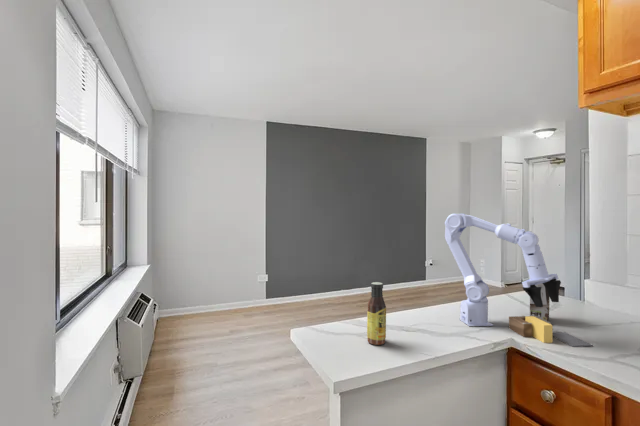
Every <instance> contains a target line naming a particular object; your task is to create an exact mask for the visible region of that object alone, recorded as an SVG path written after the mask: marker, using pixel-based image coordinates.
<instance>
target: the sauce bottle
mask: <svg viewBox="0 0 640 426" xmlns="http://www.w3.org/2000/svg"><path fill="white" fill-rule="evenodd" d="M370 288H371V291H370V292H371V294H370V295H371V296H370V298H369V299H368V301H367V313H366V314H367V316H366V318H367V319H366V333H367V334H366V337H367V338H366V339H367V342H368V343H369V344H370V345H374V346H381V345H384V344H385V342H386V338H387V306H386V303H385V299H384V297H383V296H384V295H383V293H384V292H383V288H384V284H383V282H379V281H375V282H374V281H373V282H371V283H370Z"/></svg>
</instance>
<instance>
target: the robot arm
mask: <svg viewBox="0 0 640 426" xmlns="http://www.w3.org/2000/svg"><path fill="white" fill-rule="evenodd" d="M444 226H445V228H444V229H445V230H444V239H445V242H446V243H447V246H448V249H449V250H450V252H451V254H452V256H453V258H454V261H455V262H456V265H457V267H458V269H459V271H460V272H461V275H462V277H463V285H464V287H465V295H466V299H463V300H461V301H460V306H459V308H460V315H459V316H460V317H459V320H460V321H461V322H462V323H464V324H465V325H467V326H469V327H489V326H490V327H493V326H494V324H493V323H491V322H489V299H488V297H487V296H488V295H489V294H490V286H489V285H488V284H487V283H486V282H485V281H483V279H482V277H481V276H480V275H479V274H478V273H477V271H476V269H475V266H474V265H473V263H472V261H471V258H470V257H469V254H468V253H467V251H466V248H465V246H464V244H463V242H462V240H461V239H460V238H461V235H462V233H463V231H464V230H465V229H466V228H467V227H476V228H479V229H481V230H485V231H488V232H491V233H494V234H495V235H496V237H497V238H498V239H501V240H503V241H506V242H508V243H511V244H515V245H516V244H517V245H518V247H520V248H521V251H522V257H523V259H524V262H525V267H526V269H527V270H526V271H527V273H528V277H529V279H526V280H525V281H522V282H521V284H522V289H523V292H525V293H526V294H527V295H528V296H529V299H530V298H531V299H532V301H533V302H534V304H535V306H536V307H543V303H542V299H541V287H536V286H535V285H537V284H541V283H543V285H544V286H545V288H546V289H547V291H548V294H549V297H550V301H551V302H552V303H559V302H560V299H559V297H560V296H559V295H560V286H561V284H562V282H561V280H560V279H559V275H558V274H557V273H550V274H549V272H548V269H547V265H546V261H545V258H544V256H543V252H542V251H541V246H540V245H539V241H540V240H539V239H540V238H539V236H538V235H537V234H536V233H534V232H532V231H528V230H527V231H526V229H525V228H518V227H515V226H512V224H511V223H508V222H507V223H502V224H499V225H498V224H496V223H494V222H490V221H488V220H486V219H482V218H480V217H478V216H475V215H470V214H466V213H451V214H449V215H448V216H447V218H446V219H445V221H444Z"/></svg>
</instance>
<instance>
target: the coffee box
mask: <svg viewBox="0 0 640 426" xmlns="http://www.w3.org/2000/svg"><path fill="white" fill-rule="evenodd" d="M535 286H536V287H541V299H542V303H543V307H536V306H535V304H534V302H533V301H532V299H531V298H530V297H529V316H535V317H538V318H540V319H542V320H544V321H546V322H550V303H551V302H550V301H551V299H550V297H549V294H548V291H547V289H546V288H545V286H544V285H543V283H541V284H537V285H535Z"/></svg>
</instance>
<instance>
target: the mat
mask: <svg viewBox="0 0 640 426" xmlns="http://www.w3.org/2000/svg"><path fill="white" fill-rule="evenodd" d="M552 338H555V339H557V340H558V341H561V342H562V343H564V344H566V345H568V346H570V347H572V348H582V347H594V344H592V343H590V342H587V341H585V340H583V339H582V338H581V339H580V338H579V337H577V336H575V335H573V334H570V333H568V332H566V331H564V332H563V331H561V332H557V331H556V332H555V331H553V332H552Z"/></svg>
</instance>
